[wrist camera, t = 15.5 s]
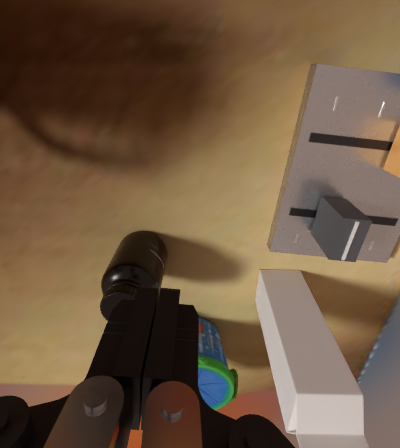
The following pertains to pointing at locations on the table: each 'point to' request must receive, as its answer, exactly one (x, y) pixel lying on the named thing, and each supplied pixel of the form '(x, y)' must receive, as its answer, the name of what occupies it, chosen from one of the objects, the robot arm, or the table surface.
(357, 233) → the block
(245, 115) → the table surface
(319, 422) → the milk
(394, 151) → the orange fader
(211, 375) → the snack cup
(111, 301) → the supplement bottle
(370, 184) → the console
